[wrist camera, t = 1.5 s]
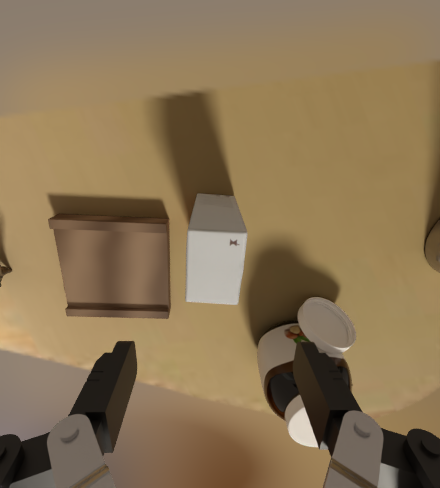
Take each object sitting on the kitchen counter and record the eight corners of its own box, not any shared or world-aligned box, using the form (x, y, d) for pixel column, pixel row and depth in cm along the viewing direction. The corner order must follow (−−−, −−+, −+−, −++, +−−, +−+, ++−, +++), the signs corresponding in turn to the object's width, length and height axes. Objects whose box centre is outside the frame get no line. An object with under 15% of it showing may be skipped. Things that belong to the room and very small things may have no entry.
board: (169, 218, 30) (166, 224, 28) (170, 308, 34) (168, 318, 32) (58, 213, 29) (47, 219, 27) (75, 305, 33) (66, 316, 31)
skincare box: (196, 192, 29) (186, 226, 18) (235, 195, 29) (250, 230, 18) (193, 244, 31) (183, 303, 20) (229, 246, 31) (240, 306, 20)
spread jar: (256, 365, 38) (273, 455, 27) (249, 300, 34) (266, 375, 23) (338, 355, 38) (389, 441, 27) (341, 288, 34) (403, 358, 23)
